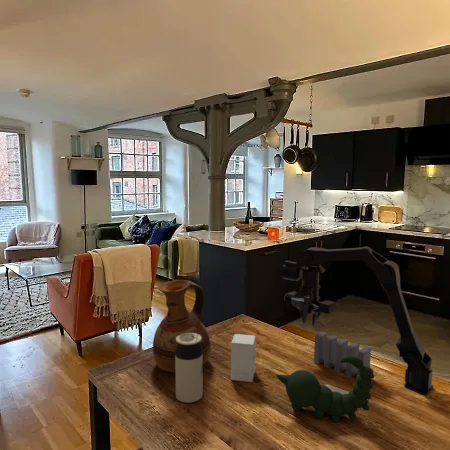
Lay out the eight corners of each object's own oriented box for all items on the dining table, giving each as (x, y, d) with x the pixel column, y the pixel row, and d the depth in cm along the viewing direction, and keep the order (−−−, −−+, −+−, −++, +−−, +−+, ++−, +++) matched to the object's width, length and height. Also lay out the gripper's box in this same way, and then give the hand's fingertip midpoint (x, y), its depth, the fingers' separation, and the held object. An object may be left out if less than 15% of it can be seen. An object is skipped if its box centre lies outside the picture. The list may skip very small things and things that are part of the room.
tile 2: (336, 363, 126) (337, 336, 125) (328, 368, 123) (329, 340, 122) (331, 362, 127) (332, 335, 126) (323, 366, 124) (324, 339, 123)
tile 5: (369, 377, 117) (371, 348, 116) (362, 383, 114) (363, 353, 113) (364, 375, 119) (365, 346, 118) (356, 380, 115) (358, 351, 114)
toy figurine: (364, 416, 100) (275, 393, 107) (374, 353, 98) (282, 333, 105) (366, 439, 91) (269, 412, 98) (377, 370, 89) (277, 347, 96)
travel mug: (172, 402, 104) (171, 342, 102) (180, 386, 112) (179, 331, 110) (199, 405, 102) (198, 344, 100) (205, 389, 110) (205, 333, 108)
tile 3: (346, 368, 123) (348, 340, 122) (339, 373, 120) (340, 344, 119) (341, 366, 125) (343, 338, 123) (334, 371, 121) (335, 342, 120)
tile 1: (326, 359, 129) (327, 333, 128) (318, 364, 126) (319, 337, 125) (321, 358, 130) (322, 331, 129) (313, 362, 127) (314, 335, 126)
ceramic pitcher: (142, 362, 127) (140, 279, 123) (188, 345, 140) (188, 270, 137) (174, 385, 112) (173, 292, 109) (222, 364, 126) (222, 280, 122)
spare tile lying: (359, 401, 105) (359, 395, 105) (353, 409, 101) (353, 403, 101) (326, 389, 111) (326, 383, 111) (319, 396, 107) (320, 391, 107)
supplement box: (253, 382, 114) (253, 344, 113) (230, 380, 116) (230, 342, 114) (255, 371, 121) (256, 335, 120) (234, 368, 123) (234, 333, 121)
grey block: (357, 372, 120) (359, 344, 119) (350, 378, 117) (351, 348, 116) (352, 370, 122) (354, 342, 121) (345, 375, 118) (346, 346, 117)
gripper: (275, 281, 130) (274, 323, 132) (320, 293, 116) (319, 339, 118) (294, 276, 137) (293, 315, 139) (338, 286, 124) (336, 330, 126)
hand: (309, 324), depth 130 cm, fingers open, 4 cm apart
